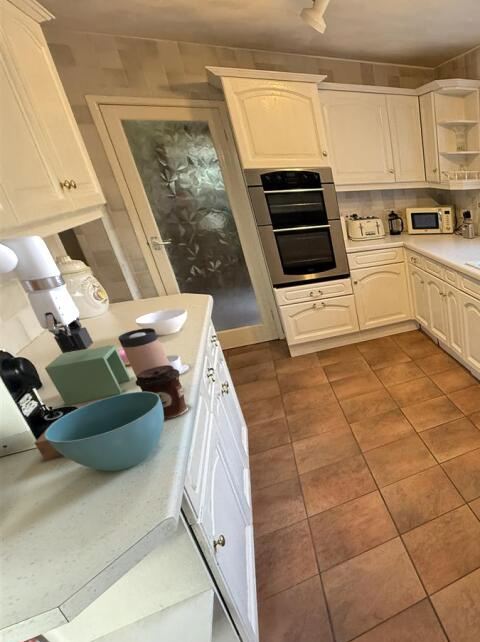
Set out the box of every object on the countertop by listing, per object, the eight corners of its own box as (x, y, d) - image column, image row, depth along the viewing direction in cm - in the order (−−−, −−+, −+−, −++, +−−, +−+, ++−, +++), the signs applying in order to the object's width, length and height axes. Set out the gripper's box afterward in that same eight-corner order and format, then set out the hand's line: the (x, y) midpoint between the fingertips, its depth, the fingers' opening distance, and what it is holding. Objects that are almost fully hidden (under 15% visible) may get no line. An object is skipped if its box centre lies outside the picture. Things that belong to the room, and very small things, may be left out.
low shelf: (45, 460, 90) (34, 443, 88) (62, 438, 97) (52, 422, 95) (114, 443, 95) (104, 426, 93) (125, 423, 102) (117, 407, 100)
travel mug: (141, 401, 112) (110, 337, 104) (169, 387, 119) (142, 326, 110) (160, 405, 110) (130, 340, 102) (187, 391, 116) (161, 329, 108)
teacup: (181, 363, 133) (176, 351, 131) (195, 370, 129) (190, 357, 127) (144, 376, 126) (138, 363, 124) (158, 384, 121) (152, 370, 119)
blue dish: (91, 500, 78) (61, 452, 74) (60, 470, 87) (31, 424, 82) (194, 447, 93) (174, 403, 88) (158, 425, 101) (139, 384, 96)
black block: (62, 353, 109) (53, 337, 107) (70, 346, 113) (61, 330, 111) (86, 349, 111) (78, 333, 109) (93, 342, 115) (85, 327, 113)
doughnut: (150, 362, 135) (145, 351, 133) (108, 370, 130) (102, 359, 128) (159, 350, 143) (154, 340, 142) (120, 357, 139) (115, 346, 137)
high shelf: (66, 405, 111) (44, 368, 106) (80, 389, 119) (60, 353, 114) (121, 393, 116) (103, 357, 111) (131, 378, 124) (114, 344, 119)
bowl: (154, 327, 165) (147, 311, 162) (198, 322, 169) (193, 306, 166) (133, 342, 151) (126, 325, 148) (182, 336, 155) (176, 320, 152)
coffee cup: (175, 422, 102) (155, 379, 97) (144, 422, 102) (122, 379, 97) (200, 403, 110) (183, 362, 105) (171, 404, 110) (153, 363, 105)
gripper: (39, 278, 109) (71, 337, 117) (5, 294, 96) (44, 360, 103) (76, 274, 113) (104, 332, 120) (48, 289, 99) (82, 353, 106)
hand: (76, 344), depth 112 cm, fingers closed on black block, 5 cm apart
